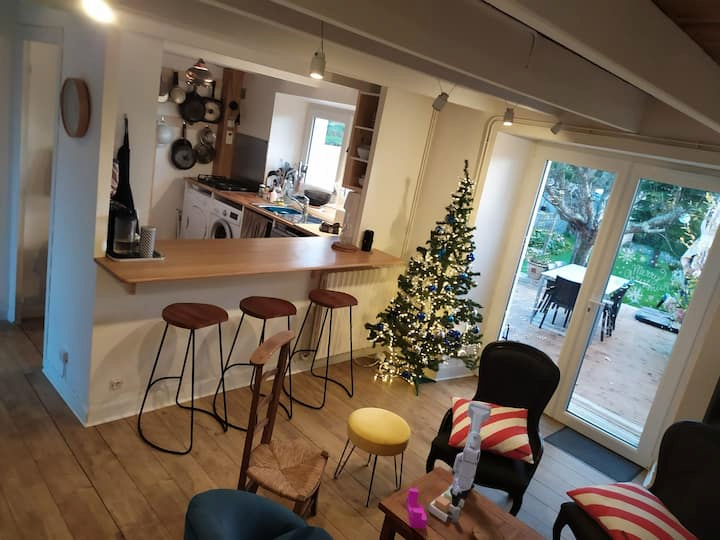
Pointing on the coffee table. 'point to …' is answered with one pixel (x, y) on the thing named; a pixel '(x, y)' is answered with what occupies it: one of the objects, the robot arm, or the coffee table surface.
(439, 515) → the rack
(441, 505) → the handled block
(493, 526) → the coffee table surface
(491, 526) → the coffee table surface
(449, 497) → the green block
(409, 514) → the toy block
